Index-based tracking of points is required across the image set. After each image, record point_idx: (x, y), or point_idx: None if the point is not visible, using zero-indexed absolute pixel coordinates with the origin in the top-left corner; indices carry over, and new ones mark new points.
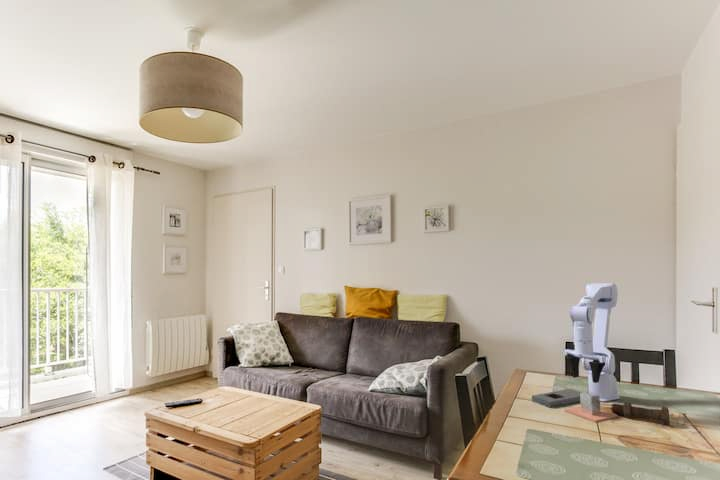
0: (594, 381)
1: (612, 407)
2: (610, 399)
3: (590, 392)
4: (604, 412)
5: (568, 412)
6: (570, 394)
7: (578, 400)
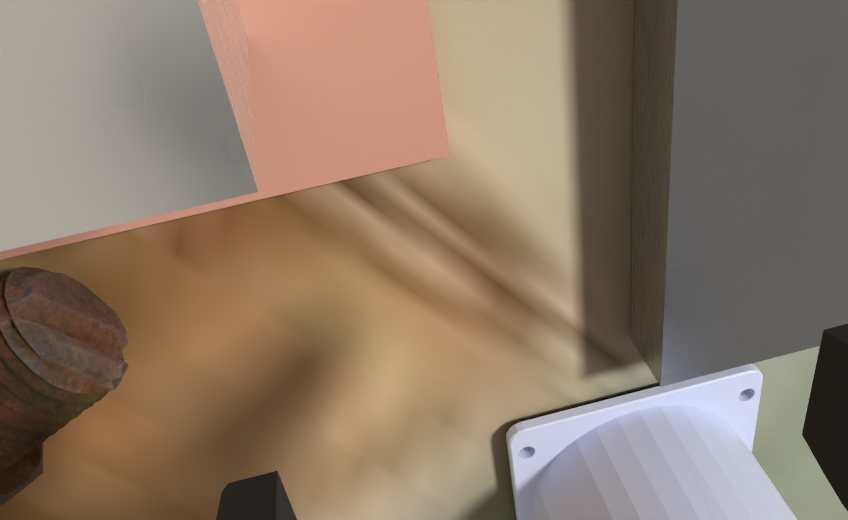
0: (218, 509)
1: (9, 309)
2: (517, 511)
3: (174, 194)
4: None
5: None
6: (793, 164)
7: (643, 175)
